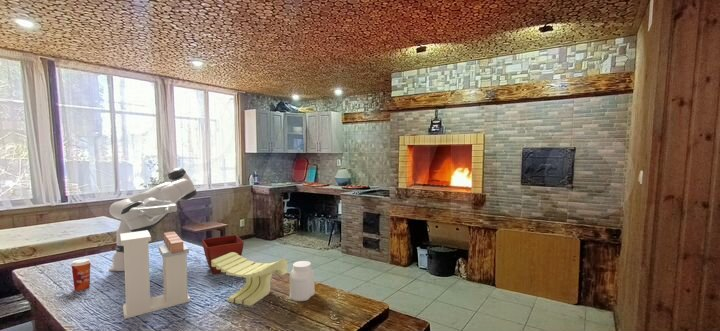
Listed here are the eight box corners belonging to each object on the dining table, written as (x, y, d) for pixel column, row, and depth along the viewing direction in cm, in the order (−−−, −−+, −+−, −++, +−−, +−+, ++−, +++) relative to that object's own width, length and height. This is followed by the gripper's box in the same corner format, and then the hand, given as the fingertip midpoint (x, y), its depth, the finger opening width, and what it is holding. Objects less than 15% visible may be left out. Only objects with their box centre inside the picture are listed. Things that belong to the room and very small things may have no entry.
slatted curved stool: (287, 293, 150) (287, 256, 149) (266, 309, 135) (266, 268, 134) (236, 284, 160) (235, 250, 160) (212, 298, 145) (211, 260, 145)
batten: (163, 242, 153) (163, 232, 153) (174, 240, 156) (174, 231, 156) (171, 254, 134) (171, 243, 134) (183, 252, 137) (183, 241, 137)
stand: (122, 306, 139) (120, 233, 137) (184, 290, 154) (182, 225, 152) (124, 319, 128) (121, 240, 126) (190, 301, 143) (188, 231, 141)
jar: (304, 302, 141) (304, 269, 140) (286, 299, 144) (286, 266, 144) (317, 292, 151) (317, 261, 151) (300, 288, 155) (299, 258, 154)
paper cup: (80, 292, 153) (78, 263, 152) (67, 291, 154) (66, 262, 154) (96, 285, 160) (95, 258, 160) (84, 284, 162) (83, 257, 161)
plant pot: (244, 270, 180) (244, 241, 179) (208, 278, 169) (207, 247, 168) (236, 261, 195) (236, 234, 195) (202, 268, 185) (201, 239, 184)
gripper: (128, 204, 162) (129, 208, 151) (174, 200, 175) (178, 203, 164) (129, 216, 163) (130, 221, 152) (174, 211, 175) (178, 215, 164)
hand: (155, 212), depth 158 cm, fingers open, 8 cm apart
